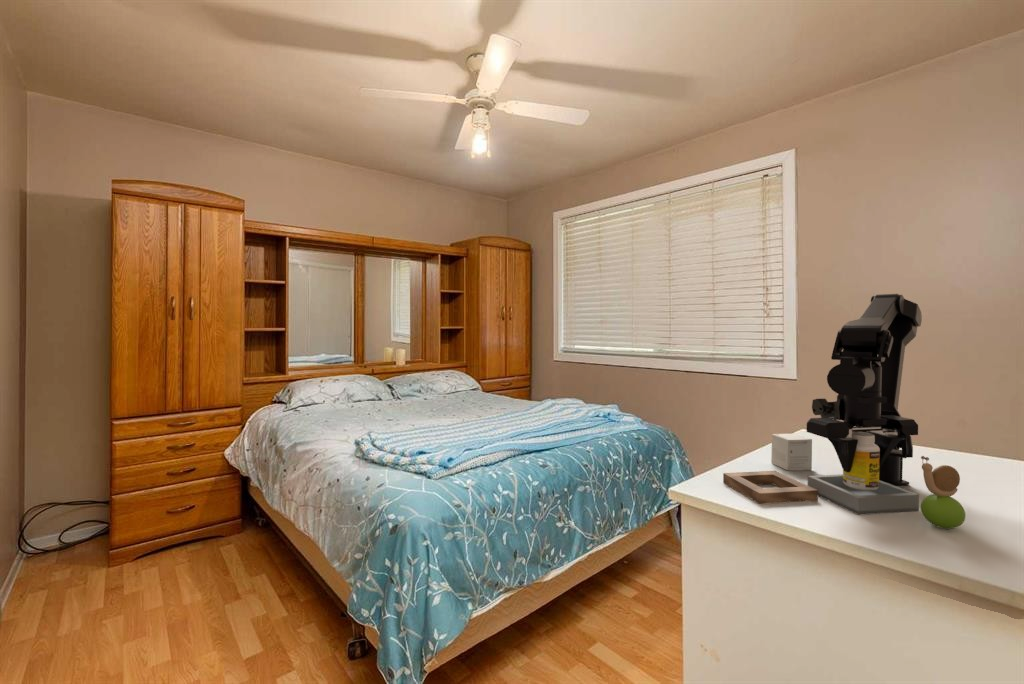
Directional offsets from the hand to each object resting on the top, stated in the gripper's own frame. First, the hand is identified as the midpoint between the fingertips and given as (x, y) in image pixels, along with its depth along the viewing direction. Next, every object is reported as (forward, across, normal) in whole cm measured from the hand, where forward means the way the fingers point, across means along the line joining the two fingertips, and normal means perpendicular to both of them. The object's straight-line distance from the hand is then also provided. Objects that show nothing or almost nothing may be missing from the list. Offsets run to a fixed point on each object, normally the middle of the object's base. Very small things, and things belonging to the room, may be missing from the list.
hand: (860, 470), depth 88 cm
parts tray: (+6, 0, 0) cm, 6 cm away
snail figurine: (+6, -3, +12) cm, 14 cm away
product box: (+6, -2, -21) cm, 22 cm away
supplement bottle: (+3, 0, 0) cm, 3 cm away
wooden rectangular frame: (+6, +14, -7) cm, 17 cm away
